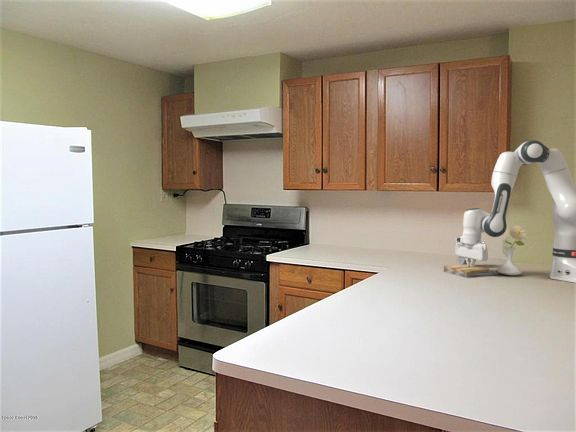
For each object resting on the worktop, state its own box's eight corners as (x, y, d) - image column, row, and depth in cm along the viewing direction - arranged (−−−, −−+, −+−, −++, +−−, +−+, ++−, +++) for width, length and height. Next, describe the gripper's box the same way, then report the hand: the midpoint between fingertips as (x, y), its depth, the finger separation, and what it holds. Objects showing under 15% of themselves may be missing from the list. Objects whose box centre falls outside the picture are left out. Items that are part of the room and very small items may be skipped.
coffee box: (462, 265, 266) (463, 236, 265) (474, 266, 262) (475, 237, 261) (457, 267, 259) (458, 238, 258) (469, 268, 255) (470, 238, 254)
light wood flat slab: (489, 271, 234) (489, 268, 234) (469, 273, 230) (469, 270, 230) (468, 266, 248) (468, 264, 248) (449, 268, 244) (449, 265, 244)
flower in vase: (495, 275, 235) (497, 225, 233) (497, 271, 245) (499, 223, 243) (525, 278, 228) (527, 226, 227) (525, 274, 239) (527, 225, 237)
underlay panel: (497, 275, 235) (497, 269, 235) (466, 277, 229) (466, 271, 228) (473, 269, 251) (473, 264, 251) (443, 271, 245) (443, 265, 244)
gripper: (491, 242, 231) (490, 270, 231) (463, 237, 250) (462, 263, 251) (481, 242, 228) (480, 270, 229) (453, 237, 248) (452, 264, 249)
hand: (470, 266), depth 240 cm, fingers closed, pressing on light wood flat slab
